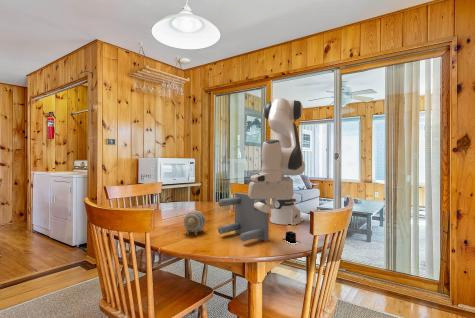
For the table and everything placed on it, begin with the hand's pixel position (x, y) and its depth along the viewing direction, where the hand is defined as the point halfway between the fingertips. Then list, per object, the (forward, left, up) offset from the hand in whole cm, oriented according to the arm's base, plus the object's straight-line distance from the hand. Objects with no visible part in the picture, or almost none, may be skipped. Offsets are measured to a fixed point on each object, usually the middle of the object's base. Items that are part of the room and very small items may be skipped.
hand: (270, 208), depth 118 cm
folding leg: (+1, -5, -2) cm, 5 cm away
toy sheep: (+12, -38, -17) cm, 43 cm away
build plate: (-12, +2, -17) cm, 21 cm away
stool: (+1, -16, -16) cm, 23 cm away
